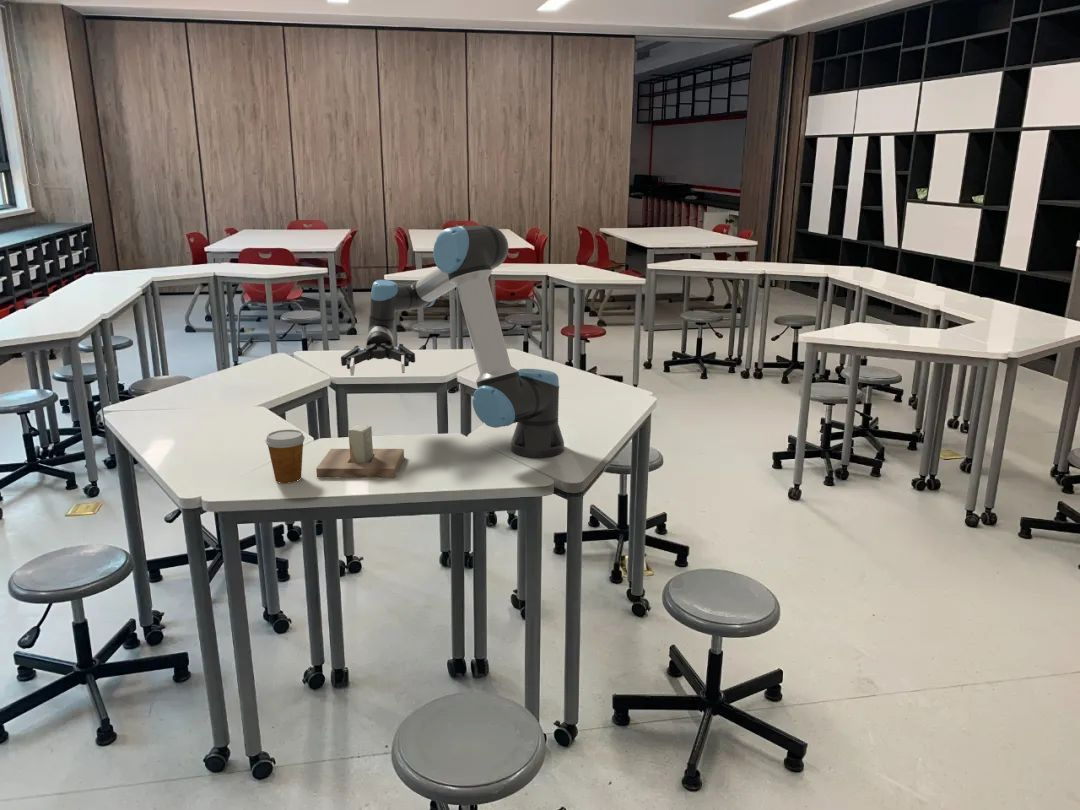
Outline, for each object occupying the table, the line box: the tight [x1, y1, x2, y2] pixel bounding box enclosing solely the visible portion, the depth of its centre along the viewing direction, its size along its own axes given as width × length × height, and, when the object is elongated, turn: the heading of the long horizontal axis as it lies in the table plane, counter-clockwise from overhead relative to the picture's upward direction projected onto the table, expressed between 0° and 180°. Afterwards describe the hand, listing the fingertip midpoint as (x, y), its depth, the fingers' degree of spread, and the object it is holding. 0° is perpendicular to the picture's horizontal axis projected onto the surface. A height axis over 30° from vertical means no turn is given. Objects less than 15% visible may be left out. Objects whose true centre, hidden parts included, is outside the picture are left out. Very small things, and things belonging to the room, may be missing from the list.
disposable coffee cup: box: [264, 428, 306, 484], centre depth 206 cm, size 10×10×12 cm
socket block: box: [316, 448, 405, 479], centre depth 216 cm, size 20×16×2 cm
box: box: [348, 424, 374, 463], centre depth 215 cm, size 5×4×11 cm
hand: (377, 369), depth 219 cm, fingers open, 13 cm apart
